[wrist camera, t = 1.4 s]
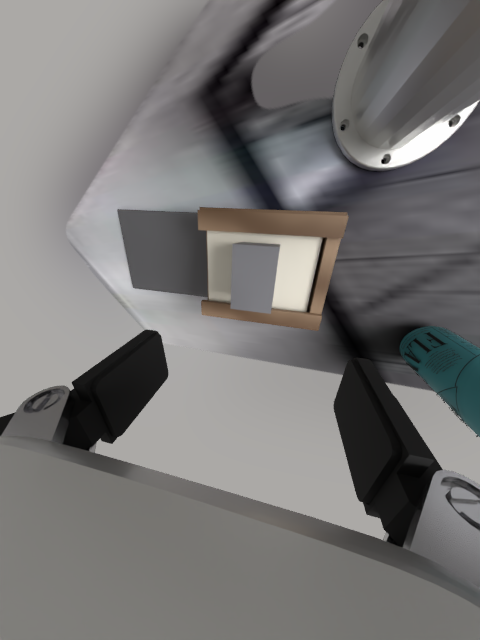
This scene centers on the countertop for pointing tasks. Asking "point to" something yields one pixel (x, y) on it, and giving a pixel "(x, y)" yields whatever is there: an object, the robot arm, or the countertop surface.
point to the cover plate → (287, 273)
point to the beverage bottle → (447, 369)
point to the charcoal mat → (165, 251)
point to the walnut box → (279, 224)
